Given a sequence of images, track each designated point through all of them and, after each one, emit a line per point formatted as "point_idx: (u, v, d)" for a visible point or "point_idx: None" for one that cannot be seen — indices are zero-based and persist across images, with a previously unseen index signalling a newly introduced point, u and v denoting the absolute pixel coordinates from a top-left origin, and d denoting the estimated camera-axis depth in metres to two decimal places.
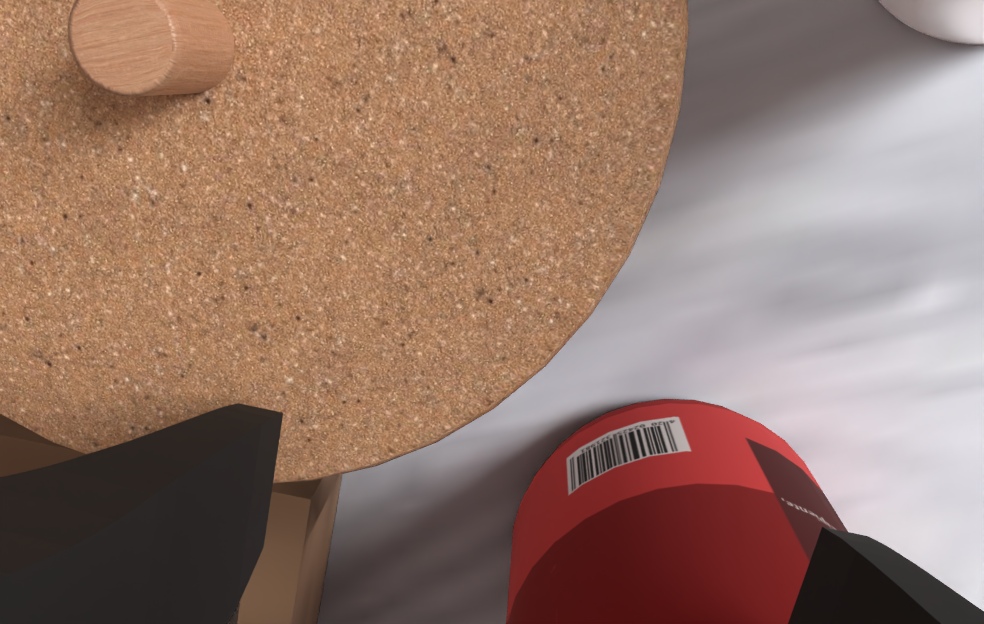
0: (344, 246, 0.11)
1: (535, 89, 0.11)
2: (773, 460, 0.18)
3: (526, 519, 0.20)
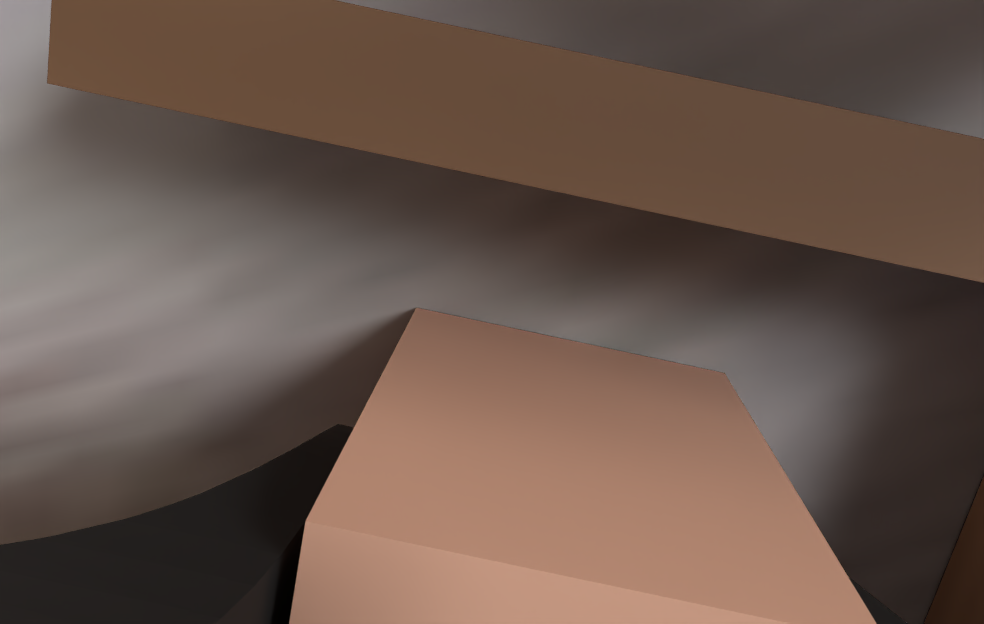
0: None
1: None
2: None
3: None
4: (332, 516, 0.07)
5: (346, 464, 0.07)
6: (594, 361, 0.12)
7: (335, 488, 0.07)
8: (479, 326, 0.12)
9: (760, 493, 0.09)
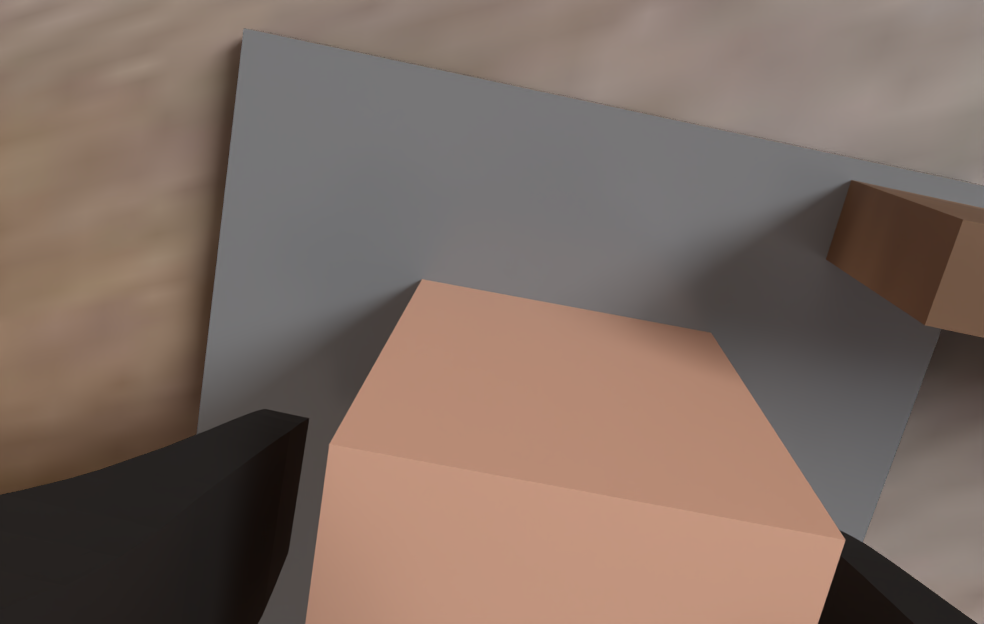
0: None
1: None
2: None
3: None
4: (353, 441, 0.07)
5: (363, 402, 0.08)
6: (588, 322, 0.12)
7: (354, 420, 0.08)
8: (480, 294, 0.13)
9: (738, 427, 0.09)
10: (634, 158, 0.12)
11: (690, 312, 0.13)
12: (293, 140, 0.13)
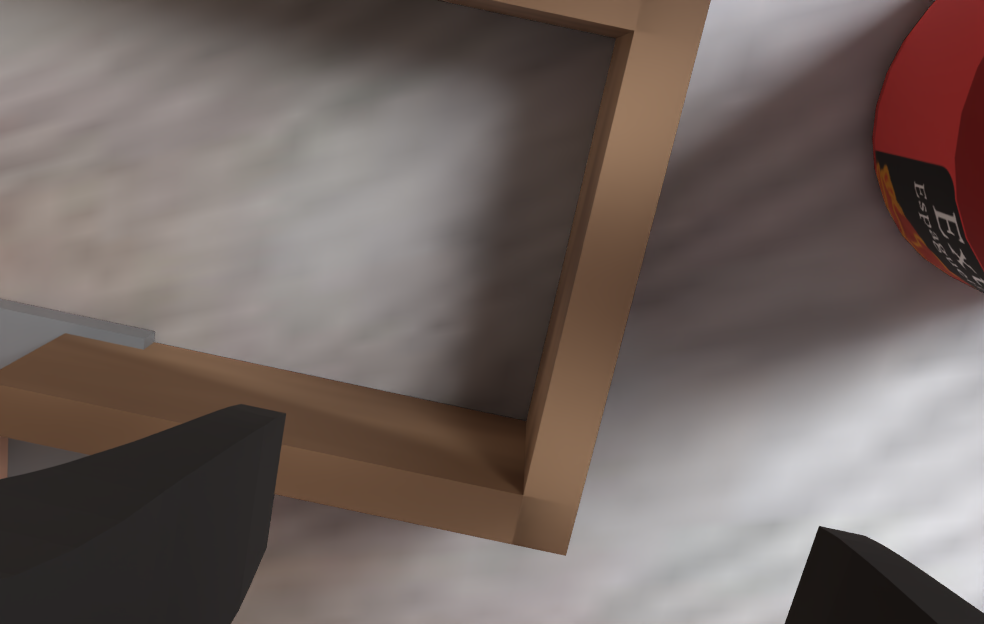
0: None
1: None
2: None
3: (928, 50, 0.17)
4: None
5: None
6: None
7: None
8: None
9: None
10: None
11: None
12: None
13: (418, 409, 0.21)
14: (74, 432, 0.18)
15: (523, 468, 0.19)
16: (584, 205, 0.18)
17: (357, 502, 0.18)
